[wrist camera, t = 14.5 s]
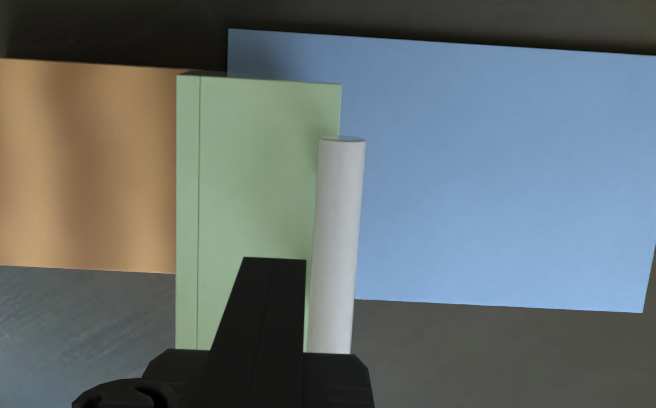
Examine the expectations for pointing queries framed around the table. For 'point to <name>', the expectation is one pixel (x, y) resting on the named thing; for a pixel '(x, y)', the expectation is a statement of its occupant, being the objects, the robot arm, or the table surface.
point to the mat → (489, 166)
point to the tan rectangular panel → (88, 165)
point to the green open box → (265, 198)
